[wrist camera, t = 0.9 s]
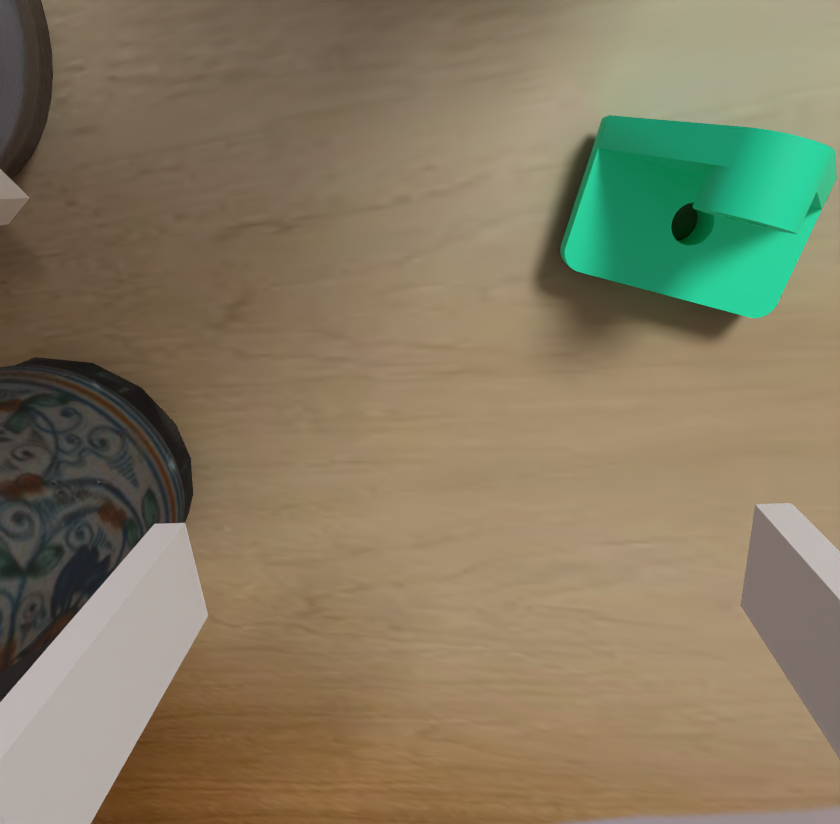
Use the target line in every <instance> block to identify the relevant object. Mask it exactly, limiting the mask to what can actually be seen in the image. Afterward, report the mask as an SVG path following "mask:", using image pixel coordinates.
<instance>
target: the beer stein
mask: <svg viewBox="0 0 840 824" xmlns="http://www.w3.org/2000/svg"><path fill="white" fill-rule="evenodd" d="M192 496H193V486H192V472H191V458H190V456H189V453H188V451H187V449H186V447H185V444H184V442H183V440H182V437H181V435H180V433H179V431H178V428H177V426H176V424H175V423H174V422H173V421H172V420H171V419H170V418H169V417H168V415H167V414H166V413H165V412H164V411H163V410H162V409H161V408H160V407H159V406H158V405H157V404H156V403H155V402H154V401H153V400H152V399H151V398H150V397H149V396H148V394H147V393H146V392H145V391H144V390H143V389H142V388H140V387H138V386H136V385H134V384H132V383H130V382H128V381H127V380H125V379H123V378H121V377H119V376H117V375H115V374H113V373H111V372H109V371H107V370H105V369H103V368H101V367H99V366H97V365H95V364H93V363H86V362H76V361H66V360H56V359H46V358H36V357H35V358H33V359H30V360H28V361H25V362H22V363H20V364H17V365H15V366H8V367H2V368H0V675H1V674H2V673H3V672H4V671H5V670H7V669H8V668H9V667H11V666H12V665H14V664H15V663H16V662H18V661H19V660H21V659H22V658H23V657H25V656H26V655H28V654H29V653H30V652H37V651H45V650H46V649H47V648H48V647H49V645H50V644H51V643H52V642H53V641H54V640H55V638H56V637H57V636H58V635H59V634H60V633H61V631H62V630H63V629H64V628H65V627H66V626H67V625H68V623H69V622H70V621H71V620H72V619H73V618H74V616H75V615H76V614H77V613H78V612H79V611H80V610H81V608H82V607H83V606H84V605H85V604H86V603H87V601H88V600H89V599H90V598H91V597H92V596H93V594H94V593H95V592H96V591H97V590H98V589H99V588H100V586H101V585H102V584H103V583H104V582H105V581H106V579H107V578H108V577H109V576H110V575H111V574H112V572H113V571H114V570H115V569H116V568H117V567H118V566H119V564H120V563H121V562H122V561H123V560H124V559H125V557H126V556H127V555H128V554H129V553H130V552H131V550H132V549H133V548H134V547H135V546H136V545H137V544H138V542H139V541H140V540H141V539H142V538H143V537H144V535H145V534H146V533H147V532H148V531H149V530H150V528H151V527H152V526H153V525H154V524H165V523H185V520H186V518H187V515H188V513H189V508H190V504H191V500H192Z"/></svg>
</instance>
